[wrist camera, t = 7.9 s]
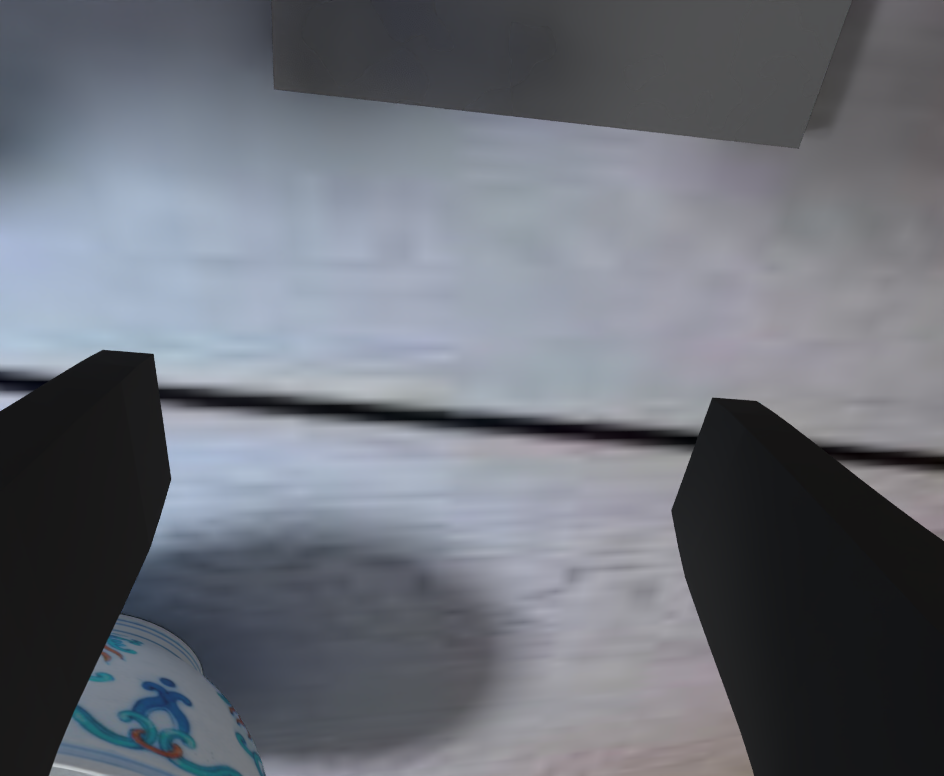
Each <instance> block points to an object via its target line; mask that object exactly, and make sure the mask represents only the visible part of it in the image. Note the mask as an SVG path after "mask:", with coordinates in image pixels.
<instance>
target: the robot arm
mask: <svg viewBox="0 0 944 776" xmlns="http://www.w3.org/2000/svg"><path fill="white" fill-rule="evenodd" d="M170 482H171V474H170V467H169V460H168V453H167V446H166V439H165V432H164V425H163V417H162V410H161V403H160V396H159V389H158V382H157V375H156V368H155V361H154V354H148V353H135V352H123V351H110V350H102V351H100V352H98V353H96V354H94V355H92V356H90V357H88V358H87V359H85V360H83V361H81V362H80V363H78V364H76V365H75V366H73V367H71V368H70V369H68V370H66V371H65V372H63V373H62V374H60V375H58V376H57V377H55V378H53V379H52V380H50V381H49V382H47V383H45V384H44V385H42V386H41V387H39V388H37V389H36V390H34V391H33V392H31V393H29V394H28V395H26V396H25V397H23V398H21V399H20V400H18V401H16V402H15V403H13V404H11V405H10V406H8V407H7V408H5V409H3V410H2V411H0V776H49V774H50V771H51V769H52V766H53V763H54V760H55V757H56V754H57V752H58V749H59V747H60V744H61V742H62V739H63V737H64V735H65V732H66V730H67V727H68V725H69V723H70V720H71V718H72V715H73V713H74V711H75V709H76V706H77V704H78V702H79V700H80V698H81V696H82V694H83V691H84V689H85V687H86V685H87V683H88V681H89V679H90V677H91V674H92V672H93V670H94V668H95V666H96V664H97V662H98V660H99V657H100V655H101V653H102V651H103V649H104V647H105V645H106V643H107V640H108V638H109V636H110V634H111V632H112V630H113V628H114V626H115V623H116V621H117V619H118V617H119V615H120V613H121V611H122V609H123V606H124V604H125V602H126V600H127V598H128V596H129V593H130V591H131V589H132V587H133V585H134V583H135V580H136V578H137V576H138V574H139V572H140V570H141V567H142V565H143V563H144V561H145V558H146V556H147V554H148V552H149V550H150V547H151V544H152V541H153V538H154V535H155V531H156V528H157V525H158V522H159V519H160V516H161V512H162V509H163V506H164V502H165V499H166V495H167V492H168V489H169V485H170ZM671 511H672V517H673V522H674V527H675V532H676V538H677V543H678V548H679V552H680V557H681V561H682V566H683V570H684V574H685V578H686V581H687V584H688V587H689V590H690V593H691V596H692V599H693V602H694V604H695V607H696V610H697V613H698V616H699V619H700V621H701V624H702V627H703V630H704V633H705V635H706V638H707V641H708V644H709V646H710V649H711V652H712V655H713V657H714V660H715V663H716V666H717V668H718V671H719V674H720V677H721V679H722V682H723V685H724V688H725V690H726V693H727V696H728V699H729V701H730V704H731V707H732V710H733V712H734V715H735V718H736V721H737V723H738V726H739V729H740V732H741V735H742V738H743V741H744V744H745V747H746V750H747V754H748V757H749V760H750V763H751V766H752V769H753V773H754V776H944V541H943V540H942V539H940V538H939V537H937V536H936V535H934V534H933V533H932V532H930V531H929V530H927V529H926V528H925V527H923V526H922V525H920V524H919V523H918V522H916V521H915V520H914V519H912V518H911V517H910V516H908V515H907V514H906V513H904V512H903V511H902V510H900V509H899V508H897V507H896V506H895V505H894V504H892V503H891V502H890V501H888V500H887V499H886V498H884V497H883V496H882V495H880V494H879V493H878V492H876V491H875V490H874V489H873V488H871V487H870V486H869V485H867V484H866V483H865V482H863V481H862V480H861V479H860V478H858V477H857V476H856V475H854V474H853V473H852V472H851V471H849V470H848V469H847V468H845V467H844V466H843V465H842V464H840V463H839V462H838V461H837V460H835V459H834V458H833V457H831V456H830V455H829V454H828V453H826V452H825V451H824V450H823V449H821V448H820V447H819V446H817V445H816V444H815V443H814V442H812V441H811V440H810V439H808V438H807V437H806V436H805V435H803V434H802V433H801V432H799V431H798V430H797V429H795V428H794V427H793V426H792V425H790V424H789V423H788V422H786V421H785V420H783V419H782V418H781V417H779V416H778V415H777V414H775V413H774V412H772V411H771V410H769V409H768V408H766V407H765V406H763V405H762V404H760V403H759V402H757V401H750V400H737V399H724V398H712V400H711V403H710V406H709V408H708V411H707V414H706V417H705V419H704V422H703V425H702V428H701V430H700V433H699V436H698V439H697V441H696V444H695V447H694V450H693V452H692V455H691V458H690V461H689V463H688V466H687V469H686V472H685V474H684V477H683V480H682V483H681V485H680V488H679V491H678V494H677V496H676V499H675V502H674V505H673V508H672V510H671Z"/></svg>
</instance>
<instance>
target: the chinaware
mask: <svg viewBox="0 0 944 776" xmlns="http://www.w3.org/2000/svg"><path fill="white" fill-rule="evenodd" d="M49 776H266V774H265V771H264V768H263V765H262V762H261V759H260V756H259V754H258V751H257V749H256V746H255V744H254V742H253V740H252V738H251V736H250V734H249V732H248V730H247V728H246V727H245V725H244V723H243V722H242V720H241V718H240V717H239V715H238V714H237V712H236V711H235V710H234V708H233V707H232V706H231V704H230V703H229V702H228V700H227V699H226V698H225V697H224V696H223V694H222V693H221V692H220V691H219V690H218V689H217V688H216V687H215V686H214V685H213V684H212V683H211V682H210V681H209V680H208V679H207V678H205V677H204V676H203V671H202V667H201V664H200V662H199V660H198V658H197V657H196V655H195V654H194V652H193V651H192V650H191V649H190V648H189V647H188V646H187V645H186V644H185V643H184V642H183V641H182V640H181V639H179V638H178V637H177V636H175V635H174V634H172V633H171V632H169V631H167V630H165V629H164V628H162V627H160V626H157V625H155V624H153V623H150V622H148V621H145V620H142V619H139V618H135V617H131V616H127V615H122V614H120V615H119V617H118V619H117V621H116V623H115V626H114V628H113V630H112V632H111V634H110V636H109V638H108V640H107V643H106V645H105V647H104V649H103V651H102V653H101V655H100V657H99V660H98V662H97V664H96V666H95V668H94V670H93V672H92V674H91V677H90V679H89V681H88V683H87V685H86V687H85V689H84V691H83V694H82V696H81V698H80V700H79V702H78V704H77V706H76V709H75V711H74V713H73V715H72V718H71V720H70V723H69V725H68V727H67V730H66V732H65V735H64V737H63V739H62V742H61V744H60V747H59V749H58V752H57V754H56V757H55V760H54V763H53V766H52V769H51V771H50V774H49Z"/></svg>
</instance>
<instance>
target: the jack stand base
mask: <svg viewBox="0 0 944 776" xmlns="http://www.w3.org/2000/svg"><path fill="white" fill-rule="evenodd" d="M271 2H272V37H273V72H274V89H276V90H285V91H294V92H302V93H311V94H320V95H329V96H338V97H347V98H356V99H364V100H373V101H382V102H391V103H400V104H409V105H418V106H426V107H435V108H444V109H453V110H462V111H471V112H480V113H488V114H497V115H506V116H515V117H524V118H533V119H542V120H550V121H559V122H568V123H577V124H586V125H595V126H604V127H612V128H621V129H630V130H639V131H648V132H657V133H666V134H674V135H683V136H692V137H701V138H710V139H719V140H728V141H736V142H745V143H754V144H763V145H772V146H781V147H790V148H798V149H799V146H800V143H801V141H802V138H803V135H804V132H805V129H806V127H807V124H808V121H809V118H810V116H811V113H812V110H813V107H814V104H815V102H816V99H817V96H818V93H819V91H820V88H821V85H822V82H823V79H824V77H825V74H826V71H827V68H828V66H829V63H830V60H831V57H832V54H833V52H834V49H835V46H836V43H837V41H838V38H839V35H840V32H841V29H842V27H843V24H844V21H845V18H846V16H847V13H848V10H849V7H850V4H851V2H852V0H271Z"/></svg>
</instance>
